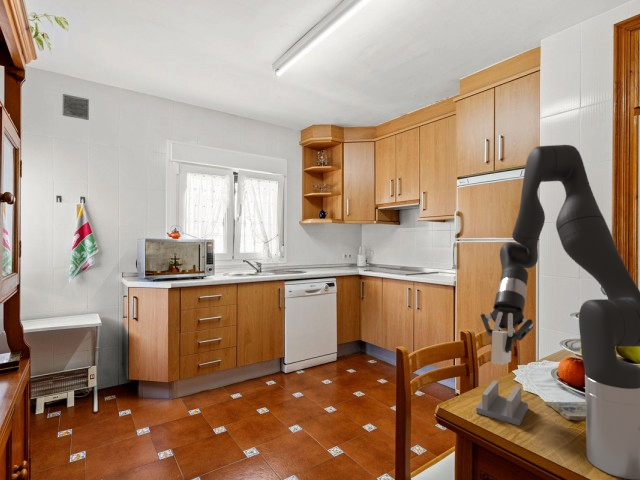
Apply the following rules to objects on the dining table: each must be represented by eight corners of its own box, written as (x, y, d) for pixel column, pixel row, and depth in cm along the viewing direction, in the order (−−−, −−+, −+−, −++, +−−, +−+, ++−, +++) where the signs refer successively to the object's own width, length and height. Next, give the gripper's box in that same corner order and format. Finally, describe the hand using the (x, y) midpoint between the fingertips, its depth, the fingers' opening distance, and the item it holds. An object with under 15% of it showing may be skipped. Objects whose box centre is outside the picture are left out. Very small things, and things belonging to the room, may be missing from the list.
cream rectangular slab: (511, 361, 96) (511, 331, 97) (501, 365, 88) (502, 332, 90) (501, 359, 98) (501, 330, 99) (491, 362, 90) (492, 331, 91)
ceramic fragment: (563, 416, 87) (542, 393, 97) (562, 428, 87) (542, 403, 97) (610, 418, 85) (585, 394, 95) (609, 429, 86) (584, 404, 96)
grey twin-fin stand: (528, 408, 94) (527, 388, 94) (519, 425, 85) (518, 403, 85) (488, 398, 100) (487, 379, 100) (476, 413, 92) (475, 392, 92)
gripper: (482, 287, 104) (469, 338, 95) (536, 291, 95) (528, 347, 86) (487, 302, 108) (476, 352, 99) (540, 307, 99) (532, 363, 90)
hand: (500, 350), depth 92 cm, fingers closed on cream rectangular slab, 2 cm apart
